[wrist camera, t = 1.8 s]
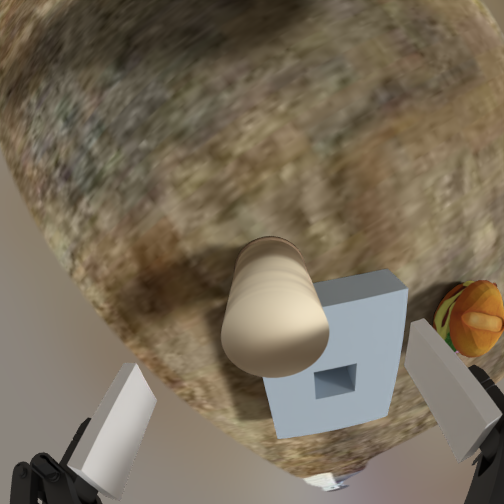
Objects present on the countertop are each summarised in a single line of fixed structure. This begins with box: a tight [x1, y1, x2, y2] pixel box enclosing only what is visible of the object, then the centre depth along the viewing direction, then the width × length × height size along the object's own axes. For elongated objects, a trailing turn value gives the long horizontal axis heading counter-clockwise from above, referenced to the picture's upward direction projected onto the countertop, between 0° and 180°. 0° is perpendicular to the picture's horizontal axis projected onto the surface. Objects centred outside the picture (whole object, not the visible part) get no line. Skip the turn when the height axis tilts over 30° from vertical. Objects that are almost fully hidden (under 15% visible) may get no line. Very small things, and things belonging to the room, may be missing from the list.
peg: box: [221, 236, 329, 378], centre depth 20 cm, size 6×6×14 cm
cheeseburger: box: [433, 280, 504, 357], centre depth 25 cm, size 10×11×10 cm
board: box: [263, 269, 408, 439], centre depth 28 cm, size 20×15×5 cm
